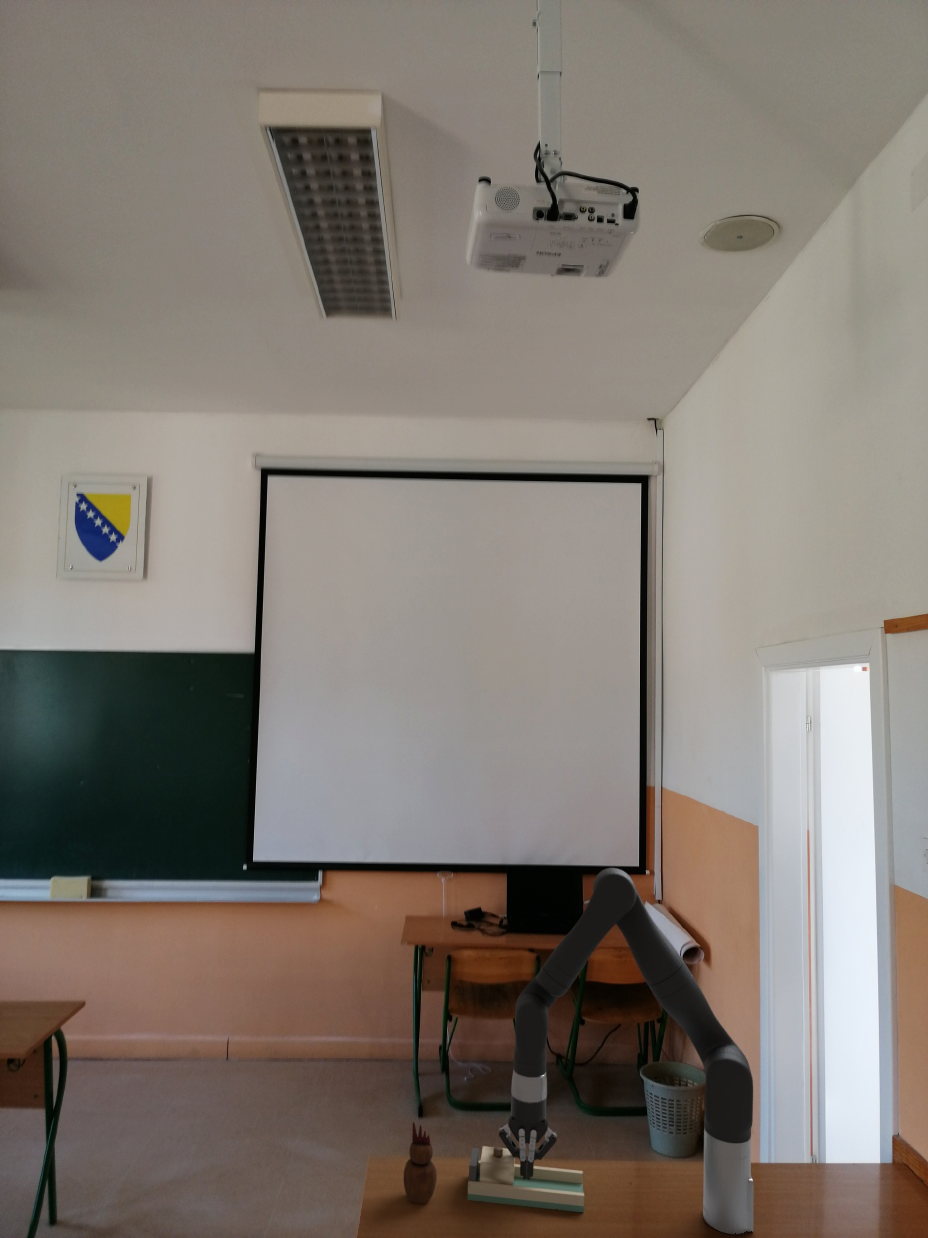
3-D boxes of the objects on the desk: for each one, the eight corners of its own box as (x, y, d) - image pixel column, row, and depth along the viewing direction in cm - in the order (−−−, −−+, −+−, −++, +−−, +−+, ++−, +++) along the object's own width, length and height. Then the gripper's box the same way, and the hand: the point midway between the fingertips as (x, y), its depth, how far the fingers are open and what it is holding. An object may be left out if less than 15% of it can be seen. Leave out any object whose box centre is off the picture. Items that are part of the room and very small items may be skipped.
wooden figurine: (397, 1201, 169) (401, 1125, 171) (412, 1187, 174) (415, 1113, 176) (426, 1212, 166) (429, 1134, 168) (440, 1197, 171) (443, 1122, 173)
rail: (582, 1187, 177) (582, 1156, 177) (583, 1212, 168) (584, 1180, 169) (471, 1175, 180) (472, 1145, 180) (467, 1200, 171) (468, 1168, 171)
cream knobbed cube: (514, 1176, 177) (515, 1143, 178) (512, 1193, 171) (513, 1159, 172) (481, 1173, 178) (483, 1140, 179) (479, 1189, 172) (480, 1155, 173)
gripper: (559, 1087, 179) (557, 1171, 177) (499, 1081, 180) (496, 1164, 179) (560, 1104, 171) (557, 1191, 170) (497, 1097, 173) (494, 1185, 171)
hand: (526, 1177), depth 174 cm, fingers closed
